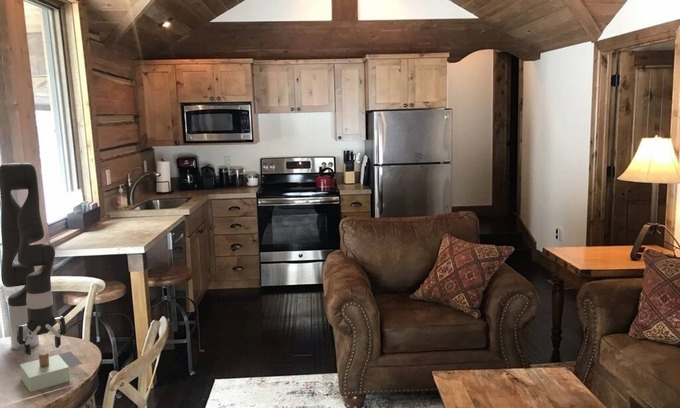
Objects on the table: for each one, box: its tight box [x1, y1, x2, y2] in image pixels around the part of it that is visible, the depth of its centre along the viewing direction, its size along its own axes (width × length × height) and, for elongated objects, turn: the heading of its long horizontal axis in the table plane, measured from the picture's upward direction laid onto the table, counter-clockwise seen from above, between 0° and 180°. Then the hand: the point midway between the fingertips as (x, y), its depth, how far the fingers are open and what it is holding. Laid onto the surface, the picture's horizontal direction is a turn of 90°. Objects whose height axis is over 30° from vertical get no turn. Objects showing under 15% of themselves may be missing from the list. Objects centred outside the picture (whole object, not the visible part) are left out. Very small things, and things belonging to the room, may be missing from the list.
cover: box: [19, 352, 71, 393], centre depth 182 cm, size 12×12×9 cm
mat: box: [29, 351, 83, 368], centre depth 196 cm, size 14×14×1 cm
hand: (43, 350), depth 182 cm, fingers open, 8 cm apart
